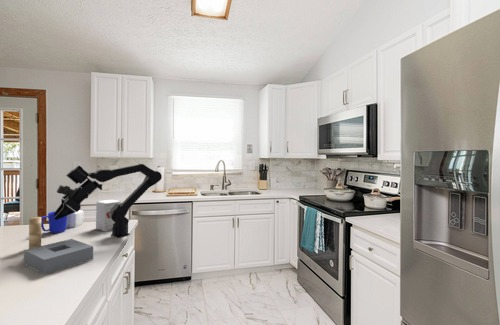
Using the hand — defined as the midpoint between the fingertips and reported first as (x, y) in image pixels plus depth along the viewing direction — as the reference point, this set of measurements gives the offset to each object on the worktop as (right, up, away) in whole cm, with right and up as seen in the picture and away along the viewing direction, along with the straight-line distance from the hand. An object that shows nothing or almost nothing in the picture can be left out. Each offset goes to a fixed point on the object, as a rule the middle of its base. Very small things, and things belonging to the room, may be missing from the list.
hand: (54, 217), depth 115 cm
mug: (-14, -12, +19) cm, 26 cm away
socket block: (+14, -13, -16) cm, 25 cm away
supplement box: (+8, -12, +29) cm, 32 cm away
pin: (-5, -13, -4) cm, 14 cm away
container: (-14, -12, +33) cm, 37 cm away
